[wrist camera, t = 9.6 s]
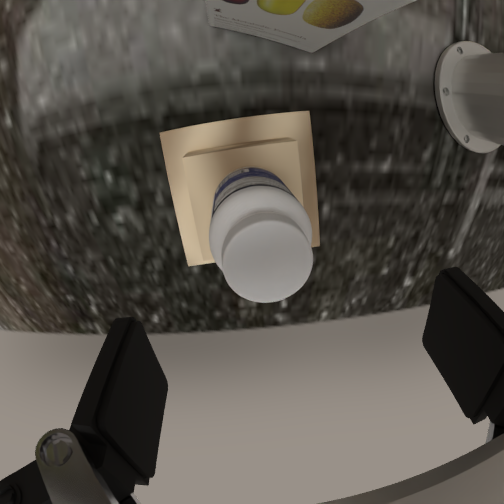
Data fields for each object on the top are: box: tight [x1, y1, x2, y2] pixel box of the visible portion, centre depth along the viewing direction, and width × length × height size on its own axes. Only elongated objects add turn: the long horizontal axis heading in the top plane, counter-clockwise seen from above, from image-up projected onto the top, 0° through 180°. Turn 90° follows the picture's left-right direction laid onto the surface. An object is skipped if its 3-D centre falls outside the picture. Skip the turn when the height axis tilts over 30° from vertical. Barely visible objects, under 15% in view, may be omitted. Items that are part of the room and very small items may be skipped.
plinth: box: [160, 111, 320, 266], centre depth 24 cm, size 12×12×5 cm
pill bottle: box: [209, 167, 313, 303], centre depth 18 cm, size 5×5×10 cm
